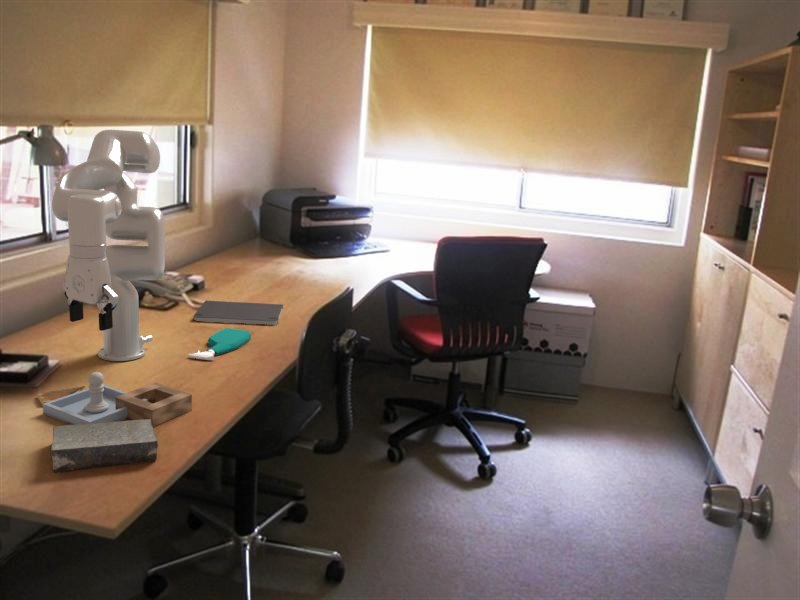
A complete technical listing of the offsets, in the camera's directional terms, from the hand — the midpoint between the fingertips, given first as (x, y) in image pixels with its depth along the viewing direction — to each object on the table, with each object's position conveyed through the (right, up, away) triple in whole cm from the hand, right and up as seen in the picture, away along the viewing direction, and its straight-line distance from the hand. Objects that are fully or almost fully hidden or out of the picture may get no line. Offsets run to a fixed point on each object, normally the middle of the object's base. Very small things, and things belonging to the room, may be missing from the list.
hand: (91, 324), depth 163 cm
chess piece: (0, -20, +4) cm, 20 cm away
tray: (0, -20, +4) cm, 21 cm away
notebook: (+14, 0, +89) cm, 90 cm away
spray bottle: (+16, -9, +53) cm, 56 cm away
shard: (-13, -18, +10) cm, 25 cm away
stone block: (+9, -26, -15) cm, 32 cm away
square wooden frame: (+12, -21, +6) cm, 25 cm away
